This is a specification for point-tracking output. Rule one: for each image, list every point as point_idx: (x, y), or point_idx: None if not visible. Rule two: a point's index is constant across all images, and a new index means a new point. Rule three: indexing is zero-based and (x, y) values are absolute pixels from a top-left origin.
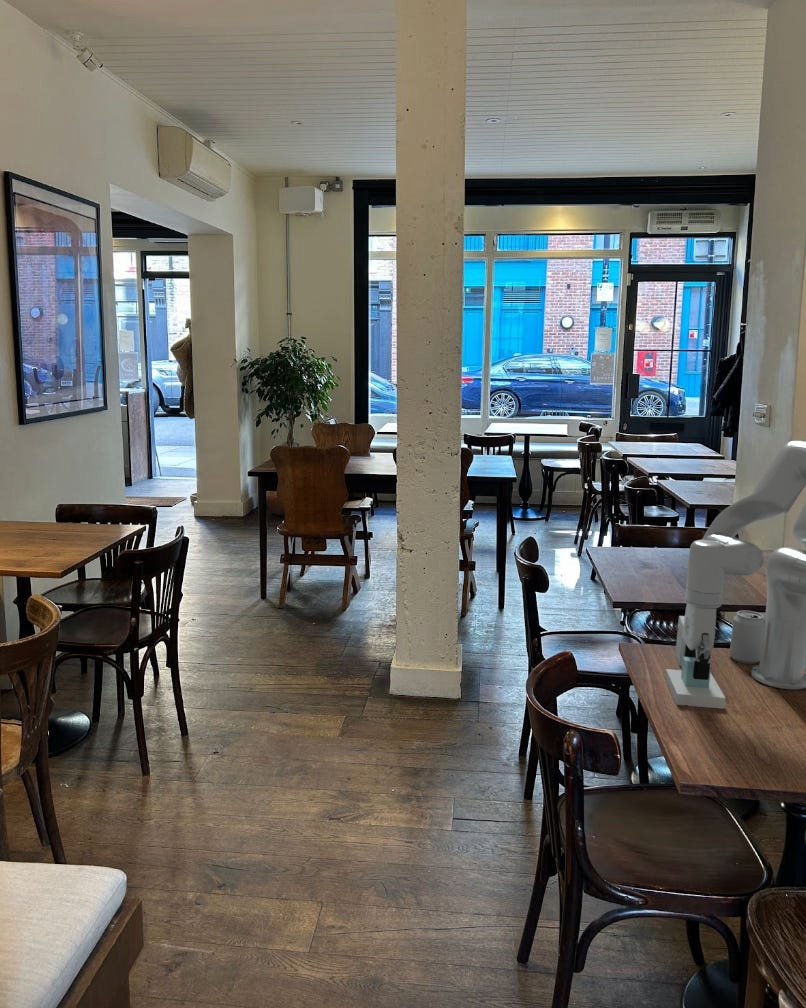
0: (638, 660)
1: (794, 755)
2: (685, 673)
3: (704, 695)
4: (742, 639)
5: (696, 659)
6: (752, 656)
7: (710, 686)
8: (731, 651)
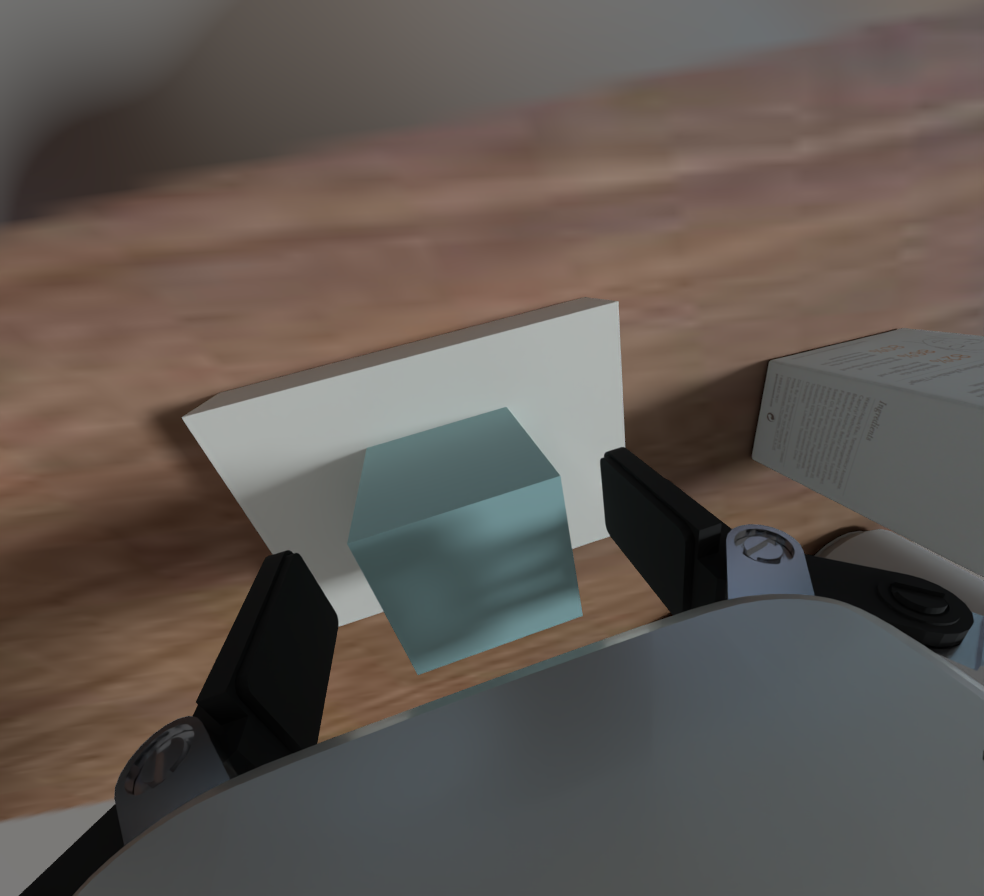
0: (849, 93)
1: (49, 806)
2: (394, 476)
3: None
4: None
5: (193, 739)
6: None
7: None
8: (874, 549)
